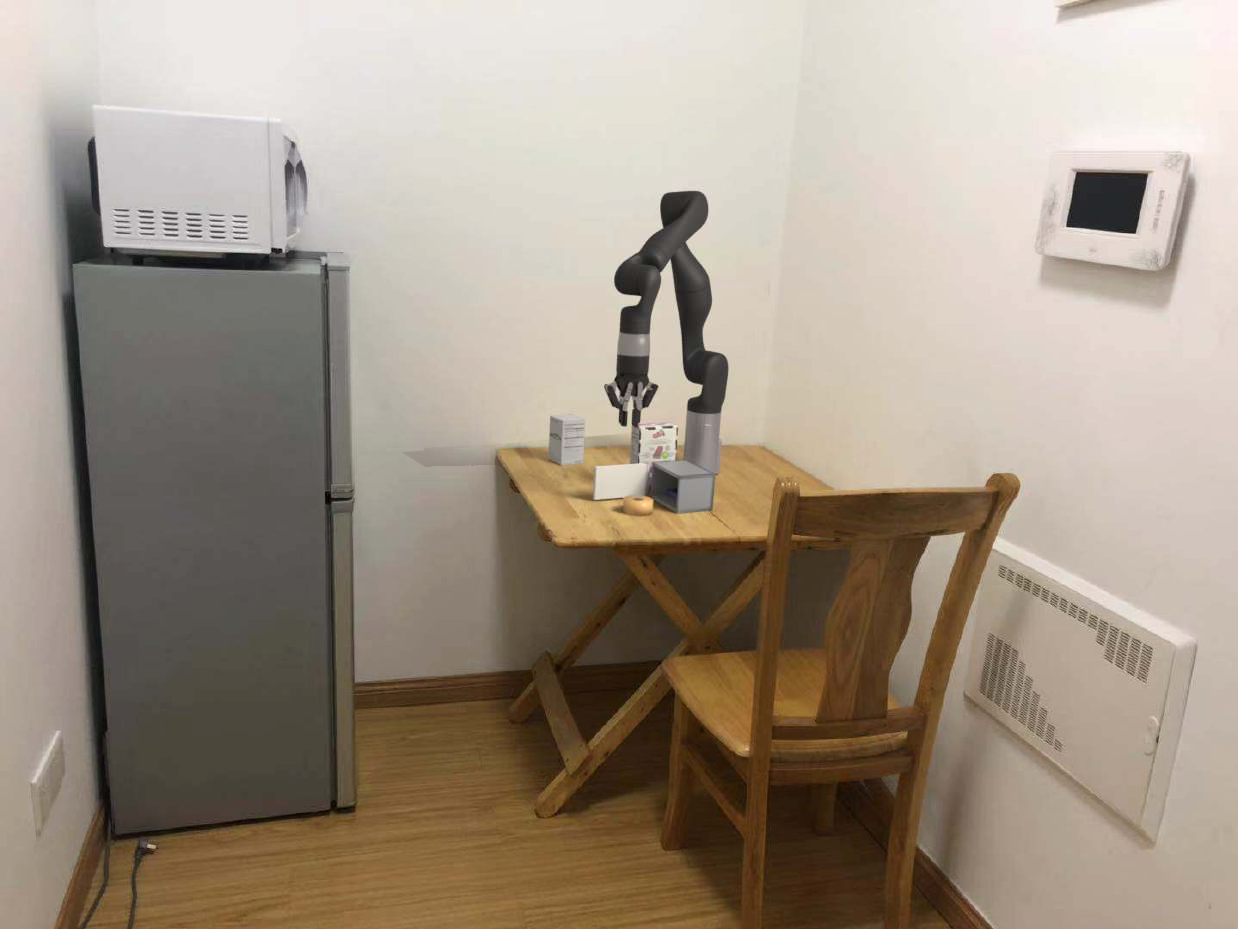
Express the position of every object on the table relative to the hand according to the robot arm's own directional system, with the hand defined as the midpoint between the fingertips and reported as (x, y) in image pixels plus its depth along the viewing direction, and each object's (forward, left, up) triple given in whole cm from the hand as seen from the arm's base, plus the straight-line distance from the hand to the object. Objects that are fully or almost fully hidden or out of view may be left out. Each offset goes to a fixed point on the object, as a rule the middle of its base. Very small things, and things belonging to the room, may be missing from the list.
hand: (629, 425), depth 234 cm
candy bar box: (-13, -11, -19) cm, 26 cm away
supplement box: (-2, -41, -19) cm, 45 cm away
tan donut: (0, +7, -19) cm, 20 cm away
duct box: (-13, +4, -19) cm, 24 cm away
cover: (-1, -3, -19) cm, 19 cm away
